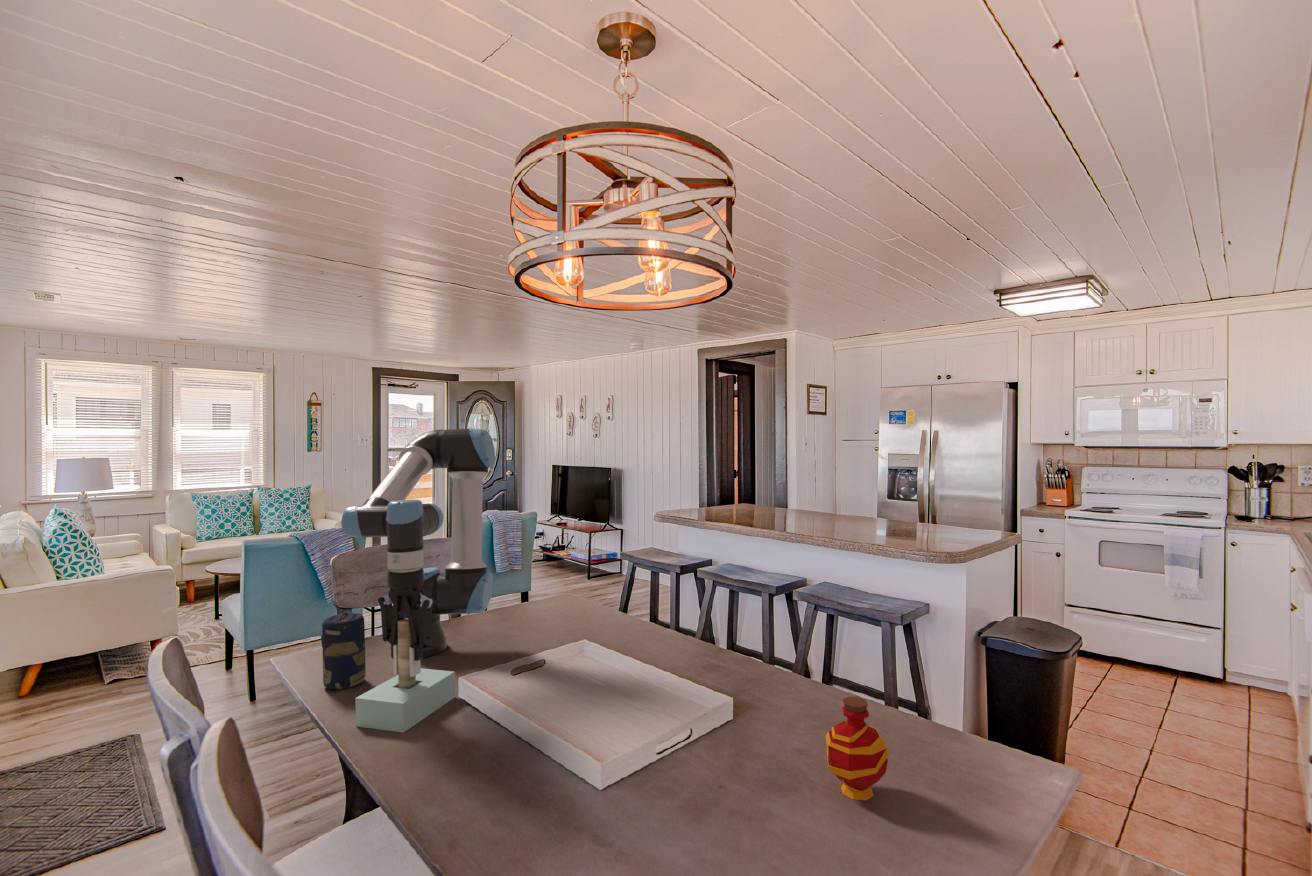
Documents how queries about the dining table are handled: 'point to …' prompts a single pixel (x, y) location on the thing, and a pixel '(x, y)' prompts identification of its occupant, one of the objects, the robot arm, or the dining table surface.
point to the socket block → (404, 701)
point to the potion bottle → (856, 751)
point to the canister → (343, 650)
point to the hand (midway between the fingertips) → (407, 673)
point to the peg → (404, 655)
